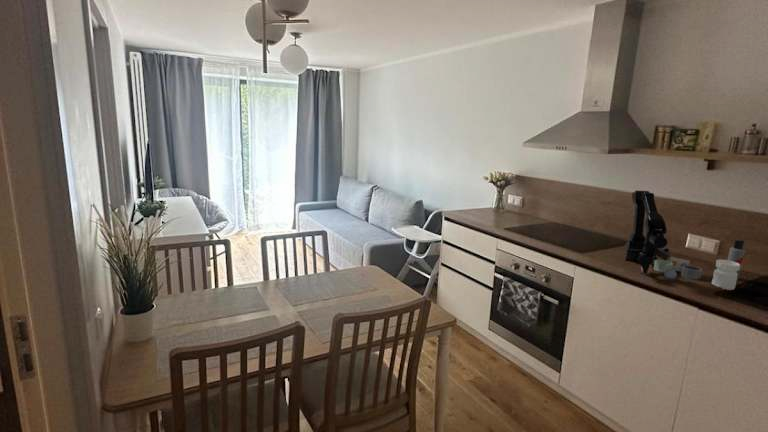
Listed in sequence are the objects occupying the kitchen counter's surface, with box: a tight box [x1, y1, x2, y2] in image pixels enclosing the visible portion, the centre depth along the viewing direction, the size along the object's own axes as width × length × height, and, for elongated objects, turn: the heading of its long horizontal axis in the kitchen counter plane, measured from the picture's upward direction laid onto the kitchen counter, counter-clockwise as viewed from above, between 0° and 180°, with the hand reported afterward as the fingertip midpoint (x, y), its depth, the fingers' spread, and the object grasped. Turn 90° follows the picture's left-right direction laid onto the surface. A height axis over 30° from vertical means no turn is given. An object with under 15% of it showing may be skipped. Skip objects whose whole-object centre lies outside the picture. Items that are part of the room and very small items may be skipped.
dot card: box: [669, 256, 690, 273], centre depth 212 cm, size 8×1×7 cm, turn 47°
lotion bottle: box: [727, 238, 746, 280], centre depth 204 cm, size 6×6×20 cm
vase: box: [711, 259, 740, 291], centre depth 194 cm, size 9×9×12 cm
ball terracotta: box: [640, 265, 654, 274], centre depth 208 cm, size 5×5×5 cm
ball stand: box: [640, 271, 676, 282], centre depth 205 cm, size 16×6×1 cm, turn 47°
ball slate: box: [663, 269, 677, 279], centre depth 201 cm, size 5×5×5 cm
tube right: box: [680, 264, 703, 280], centre depth 205 cm, size 8×8×5 cm
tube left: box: [652, 259, 673, 274], centre depth 213 cm, size 8×8×5 cm
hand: (646, 271), depth 208 cm, fingers closed on ball terracotta, 5 cm apart
